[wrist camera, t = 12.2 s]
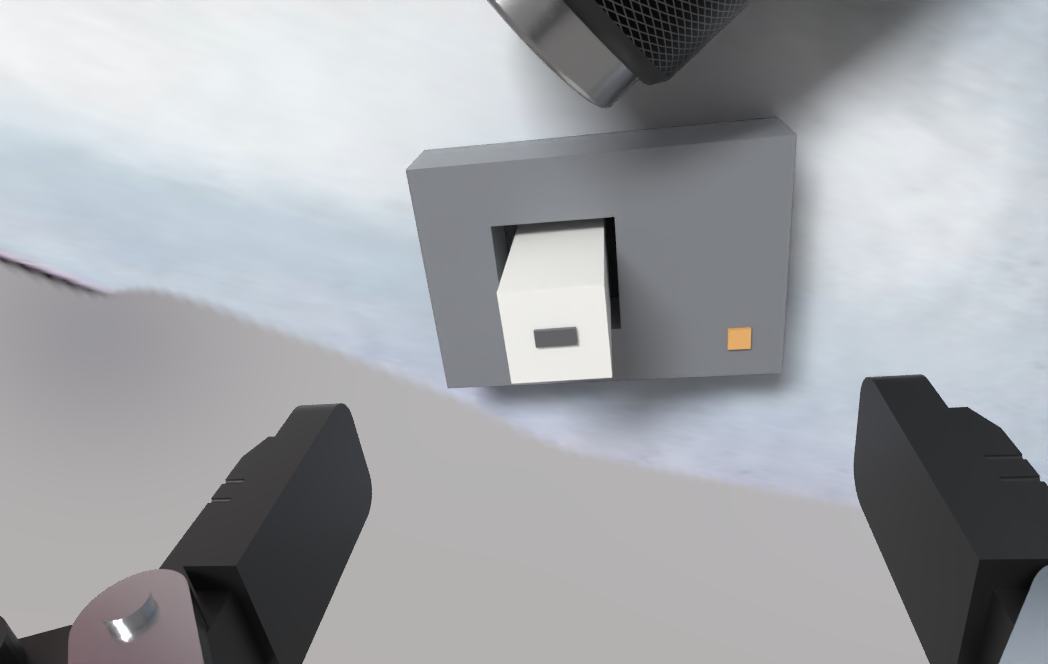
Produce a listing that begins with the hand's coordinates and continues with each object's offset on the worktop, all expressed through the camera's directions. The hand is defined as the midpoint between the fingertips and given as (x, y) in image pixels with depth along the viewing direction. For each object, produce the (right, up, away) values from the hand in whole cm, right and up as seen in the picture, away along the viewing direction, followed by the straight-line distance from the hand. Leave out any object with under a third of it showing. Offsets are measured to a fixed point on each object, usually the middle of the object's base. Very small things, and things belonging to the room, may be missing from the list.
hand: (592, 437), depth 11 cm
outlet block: (+3, +6, +23) cm, 24 cm away
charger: (+1, +6, +24) cm, 24 cm away
